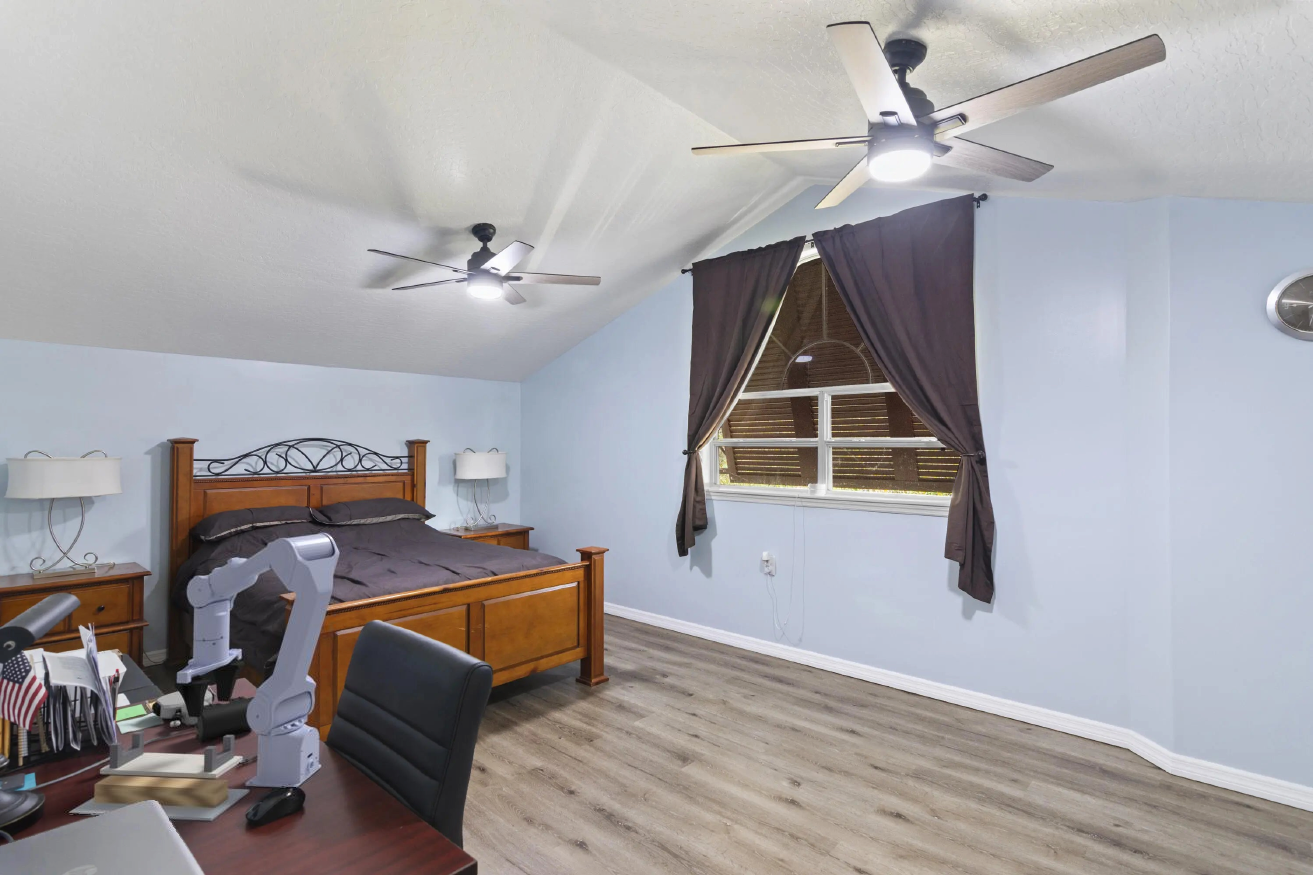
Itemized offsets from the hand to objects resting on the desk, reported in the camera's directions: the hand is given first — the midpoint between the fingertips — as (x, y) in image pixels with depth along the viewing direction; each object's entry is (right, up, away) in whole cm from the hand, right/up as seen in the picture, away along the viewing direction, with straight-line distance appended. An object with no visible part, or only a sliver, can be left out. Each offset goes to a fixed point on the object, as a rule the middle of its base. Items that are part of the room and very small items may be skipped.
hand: (210, 708), depth 128 cm
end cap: (-3, -10, +10) cm, 14 cm away
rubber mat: (+3, -9, -16) cm, 19 cm away
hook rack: (-4, -9, -4) cm, 11 cm away
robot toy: (-17, -10, +19) cm, 27 cm away
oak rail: (+3, -9, -16) cm, 19 cm away
